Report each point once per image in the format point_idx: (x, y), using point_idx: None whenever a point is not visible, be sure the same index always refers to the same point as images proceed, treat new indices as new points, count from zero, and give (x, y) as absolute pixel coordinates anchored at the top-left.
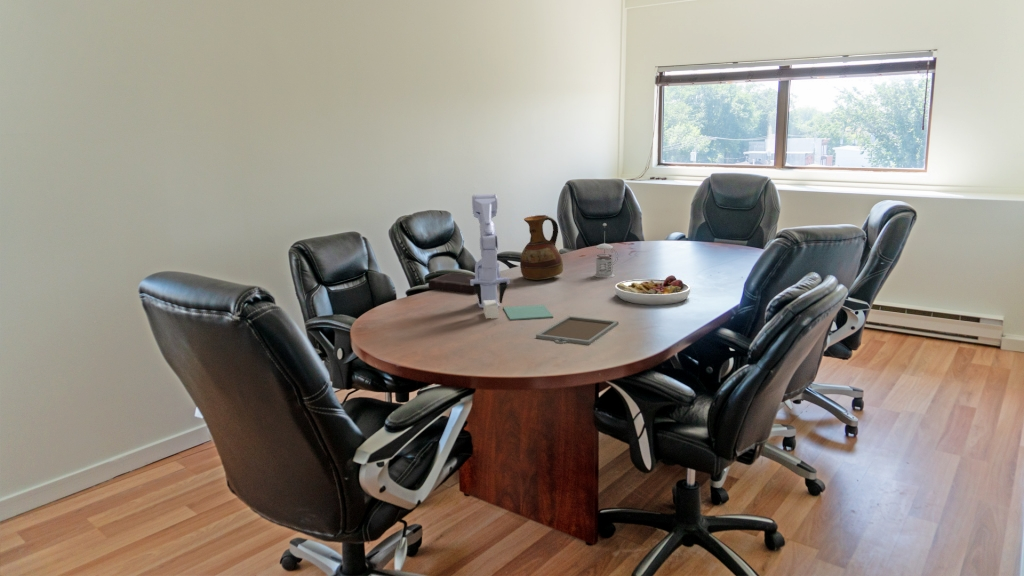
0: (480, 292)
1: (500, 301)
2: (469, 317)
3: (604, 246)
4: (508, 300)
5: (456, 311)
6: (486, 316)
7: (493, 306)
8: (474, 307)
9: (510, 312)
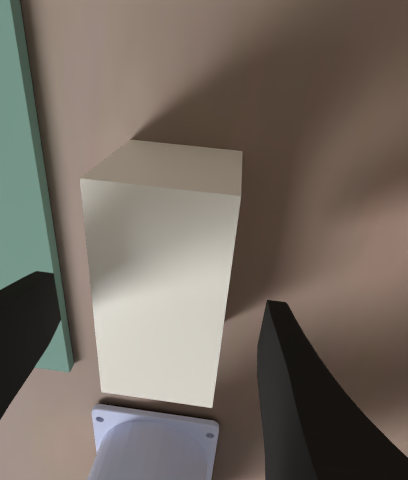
0: (308, 422)
1: (39, 279)
2: (370, 242)
3: None
4: (42, 475)
5: (388, 409)
6: (240, 157)
7: (144, 181)
8: (246, 439)
9: (16, 234)
